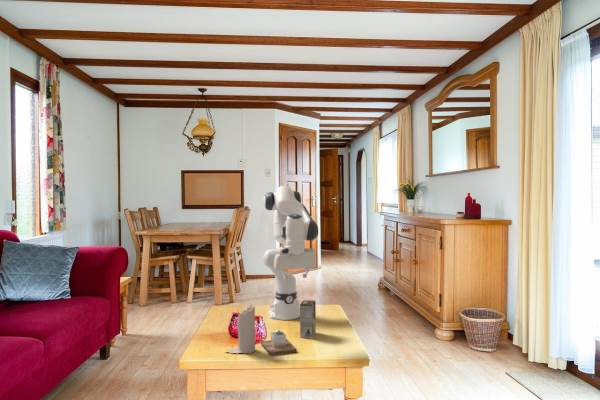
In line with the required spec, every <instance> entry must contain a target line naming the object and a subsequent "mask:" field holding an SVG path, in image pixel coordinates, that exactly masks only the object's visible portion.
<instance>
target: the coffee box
mask: <svg viewBox="0 0 600 400" xmlns="http://www.w3.org/2000/svg"><path fill="white" fill-rule="evenodd" d="M316 305H317V304H316V300H310V299H309V300H308V299H307V300H306V299H305V300H302V301H301V302H300V303H299V306H300V316H299V337H300V338H304V339H313V338H314V336H315V335H316V332H317V330H316V329H317V323H316V322H317V320H316V319H317V317H316V316H317V315H316V314H317V313H316Z"/></svg>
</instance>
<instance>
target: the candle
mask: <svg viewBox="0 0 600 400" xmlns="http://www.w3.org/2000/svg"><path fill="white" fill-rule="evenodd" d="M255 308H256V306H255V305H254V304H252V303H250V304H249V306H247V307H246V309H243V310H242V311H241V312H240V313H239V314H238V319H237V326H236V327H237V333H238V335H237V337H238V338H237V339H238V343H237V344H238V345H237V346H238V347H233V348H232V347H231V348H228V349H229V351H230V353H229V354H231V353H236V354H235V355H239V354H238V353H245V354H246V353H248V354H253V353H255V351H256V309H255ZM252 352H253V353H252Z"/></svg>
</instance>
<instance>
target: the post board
mask: <svg viewBox="0 0 600 400" xmlns="http://www.w3.org/2000/svg"><path fill="white" fill-rule="evenodd" d="M260 345H261V347H262V348H263V350H265V352H266V353H267V354H268V355H269V357H272V356H279V355H287V354H294V353H297V351H298V350H297V348H296V347H295V346H294V345H293V344H292V342H291V341H289V340H288V338H286V346H285V347H277V348H274V347H273V346H272V345H271V339H270V340H262V341H260Z"/></svg>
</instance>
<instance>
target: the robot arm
mask: <svg viewBox="0 0 600 400" xmlns="http://www.w3.org/2000/svg"><path fill="white" fill-rule="evenodd" d="M302 199H303V198H302V196H301V193H300V192H299V191H296V190H293V189H292V188H291V187H290V186H288V185H280V186H278V187H277V188H276V190H275V191H273V192H272V191H270V192H267V193H265V194H264V197H263V200H262V201H263V202H262V203H263V206H264V208H265V210H266V211H274V212H273V234H274V235H273V236H274V239H275V240H276V241H277V242H278V243H280V244H282V245H283V246H279V247H277V248H270V249H267V250H266V251H265V252H264V254H263V258H262V259H263V263H264V265H265V266H266V267H267V268H268V269H269V270H271V271H272V273H273V275H274V278H275V283H276V284H275V286H276V292H275V293H274V295H275V299H274V300H273V302H272V304H270V305H269V308H270V310H268V315H269V318H270V319H271V320H273V319H274V320H282V321H283V320H284V321H289V320H290V321H291V320H296V319H298V318H300V301H299V300H298V299H297V298H298V291H297V280H296V276H295V275H293V274H292V273H289V272H287V271H286V270H301V269H302V270H303V269H304V270H305V271H304V273H302V278H304V279H305V278H306V279H307V278H308V277H307V276H308V273H309V271H310V269H314V268H316V267H317V260H316V255H317V251H316V250H315V249H314V248H313V247H310V248H308V247H307V248H305V241H311V242H312V241H314V240H316V238H317V237H318V236H319V227H318V224H317V222H316V221H315V220H314V219H313V217H312V216H311V214H310V213H309V211H308V209H307V207H306V206H305V204H303V203H302Z"/></svg>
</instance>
